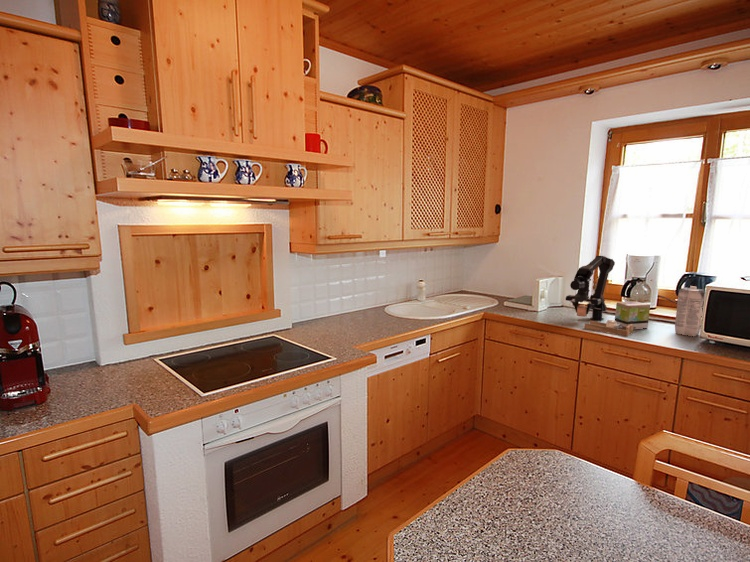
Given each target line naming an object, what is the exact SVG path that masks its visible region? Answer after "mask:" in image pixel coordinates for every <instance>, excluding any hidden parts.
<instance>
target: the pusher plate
mask: <svg viewBox="0 0 750 562" xmlns="http://www.w3.org/2000/svg"><path fill="white" fill-rule="evenodd" d="M616 329H622V330H623V327H621V323H619V324H618V325H616Z"/></svg>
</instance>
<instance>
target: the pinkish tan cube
mask: <svg viewBox="0 0 750 562" xmlns="http://www.w3.org/2000/svg"><path fill="white" fill-rule="evenodd" d="M586 311H587V305H584V304H578V307H577V313H576V316H577V317H581V318H583V317H585V318H586V317H587V316H588V314H586Z"/></svg>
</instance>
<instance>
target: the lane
mask: <svg viewBox="0 0 750 562" xmlns="http://www.w3.org/2000/svg"><path fill="white" fill-rule="evenodd" d="M621 327H623V330H622V329H616V328H610V327H606V322H600V321H596V320H589V323H584V327H583V329H584V328H586V329H585V330H590V329H591V331H595V330H597V331H596V332H601V331H603V332H602V333H606V332H609V333H608V334H612V333H614V334H613V335H617V334H618V336H623V335H625V336H624V337H628V335H629V334H630V335H632V334H633V331H634V329H633V324H630V325H629V326H627V327H625V326H621ZM631 333H632V334H631ZM630 335H629V336H630Z"/></svg>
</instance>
